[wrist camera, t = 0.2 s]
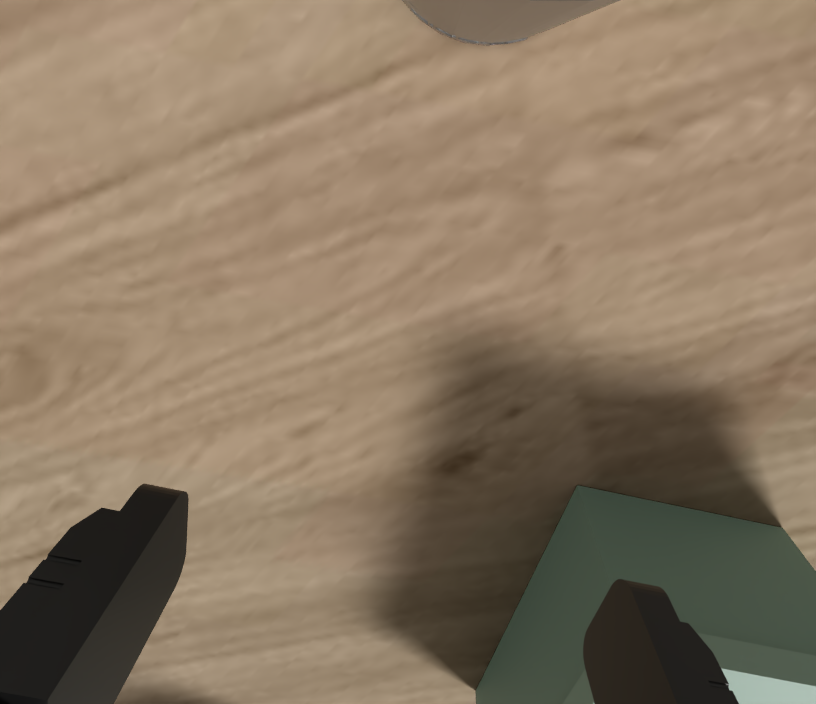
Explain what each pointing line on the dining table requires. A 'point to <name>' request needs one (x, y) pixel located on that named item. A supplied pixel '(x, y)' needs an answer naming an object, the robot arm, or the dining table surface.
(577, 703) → the green cover with grip
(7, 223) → the dining table surface
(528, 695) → the toolbox
